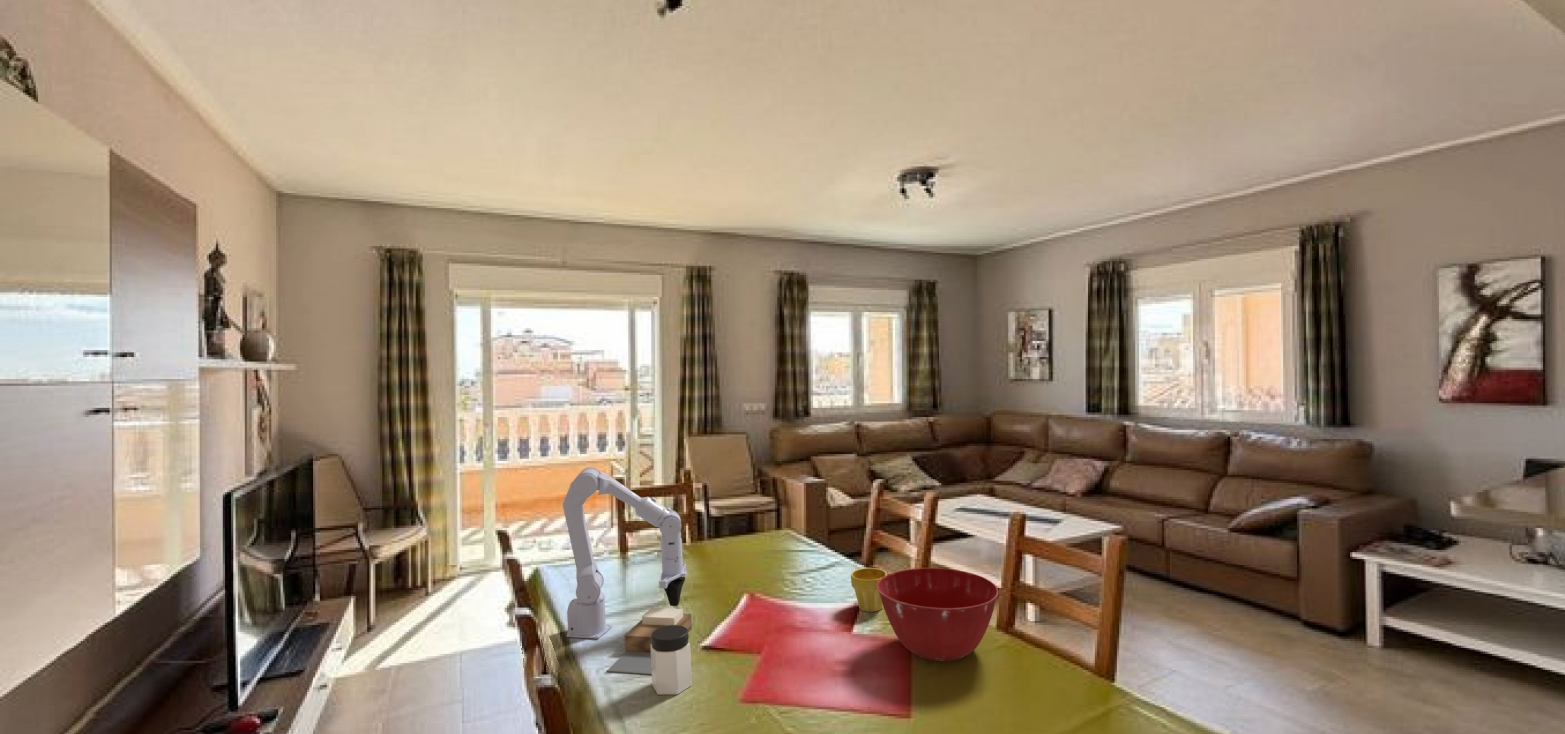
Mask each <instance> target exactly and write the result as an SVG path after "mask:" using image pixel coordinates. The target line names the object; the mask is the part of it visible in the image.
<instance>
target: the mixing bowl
mask: <svg viewBox="0 0 1565 734" xmlns="http://www.w3.org/2000/svg"><path fill="white" fill-rule="evenodd" d="M877 590H878V591H879V593H880V597H881V600H882V604H883V607H882V608H884V613H885V615H886V617H887V619H888V622H889V623H890V624H889V625H890V627H891V628H892V630H893V632H894V634H895V635H896V637H897V639H898V640H899V642H900V643H901V644H902V646H904V648H906V650H908V651H910V652H912V654H914V655H915V656H917V657H919V658H922V659H924V660H929V661H932V662H953V661H957V660H960V659H962V658H964V657H966V656H967V655H968V656H969V654H971V653H972V652H973V651H974V650H976V649H977V648H978V646H979V645H980V643H981V641H982V640H983V637H984V636H985V633H986V632H987V630H988V627H989V624H990V622H991V619H992V616H993V613H994V609H995V604H996V602H997V601H996V600H997V598H998V596H999V589H998V587H997V585H996V584H995V583H994V582H992V580H989V579H988V578H986V577H984V576H982V575H979V574H975V573H973V572H968V571H963V570H959V569H952V568H942V567H941V568H940V567H917V568H907V569H903V570H902V569H901V570H898V571H893V572H891V573H889V574H888V573H887V575H886V576H884V577H882V578H881V579H880V580H879V581H878V583H877Z"/></svg>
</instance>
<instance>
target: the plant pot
mask: <svg viewBox="0 0 1565 734" xmlns="http://www.w3.org/2000/svg"><path fill="white" fill-rule="evenodd" d="M886 575H888V573H887V571H885V570H883V569H881V568H875V567H863V568H858V569H855V570H853V571H852V572H851V573H850V583H851V587H852V588H853V589H854V593H855V596H856V601H857V604H858V607H859V609H860V610H861V611H863V612H868V613H872V612H874V613H875V612H879V611H881V610H882V609H883V608H884V607H883V604H882V600H881V597H880V593H879V591H878V590H877V583H878V581H879V580H880V579H881V578H882V577H884V576H886Z"/></svg>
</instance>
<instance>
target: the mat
mask: <svg viewBox="0 0 1565 734" xmlns="http://www.w3.org/2000/svg"><path fill="white" fill-rule="evenodd" d="M606 672H607V673H618V674H619V673H620V674H634V675H647V676H648V675H649V676H652V668H651V653H648V652H631V651H624V653H623V654H622V655H621V656H620V657H619V658H618V659H617V660H616V661H615V662H614V663H613V664H612V665H611V666H610V667H609V668H608V669H606Z"/></svg>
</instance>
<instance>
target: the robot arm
mask: <svg viewBox="0 0 1565 734" xmlns="http://www.w3.org/2000/svg"><path fill="white" fill-rule="evenodd" d="M597 491H598V492H597ZM596 492H597V495H599V496H600V495H611V496H613V497H615V498H616V499H618V500H619V501H621V502H623V503H625V504H626V505H628V506H630V507H632V508H634V510H635V515H636V516H637V517H639V518H641V519H642V520H644V521H646V522H648V524H651V526H654V527H655V528H659V532H660V533H661V541H660V547H661V548H660V549H661V571H662V572H661V576H660V579H659V581H658V586H659V587H658V588H659V589H663V590H664V592H665V594H666V597H667V600H668V604H669V606H670V607H678V606H679V605H680V600H681V593H682V590H683V586H684V583H685V581H686V576H687V575H688V571H687V567H686V565H687V564H686V563H684V562H683V561H684V560H683V559H684V558H683V557H684V555H683V540H682V532H681V531H682V528H683V527H682V526H683V525H682V519H681V516H680V515H679V513H677V511H676V510H674V509H673V510H672V508H670V507H667V508H666V507H665V506H664V505H662V504H661V503H659V502H658V501H657V498H656V497H654V496H652V497H649V496H646V497H641V496H639V495H638V494H636V493H635V492H633V491H632V490H630V489H629V488H627V486H626V485H623V484H622V483H621V482H619V481H618V480H616V478H614V477H611V475H609V474H607V473H605V472H604V471H600V470H599V469H597V468H596V467H593V466H592V467H591V466H589V467H586V468H584V469H582V470H581V471H580V472H579V473H578V475H577V476H576V477H575V478H574V479H573V481H571V483H570V485H569V488H568V491H567V493H566V495H565V498H564V499H563V502H562V509H563V512H564V513H563V514H564V517H565V522H566V527H567V530H568V531H567V532H568V536H569V540H570V541H569V542H570V544H571V549H572V554H573V559H574V563H575V568H576V569H575V570H576V576H575V577H576V578H575V579H576V583H577V585H576V590H575V596H576V598H573V599H571V600H570V601H569V604H568V606H567V611H566V617H567V618H566V619H567V634H566V638H578V639H583V638H584V639H600V638H601V637H602V636H603V635H604V634H605V633H607V631H609V630H611V628H612V627H613V624H607V623H606V621H607V620H606V619H607V618H606V603H605V602H606V600H605V595H604V593H603V592H602V587H603V585H604V584H605V583H604V581H605V580H604V576H603V574H602V573H601V571H600V570H599V568H598V564H597V562H596V561H595V557H594V553H593V548H592V544H591V539H590V535H589V530H588V526H587V520H586V516H585V512H584V503H585V502H586V501H587V499H589V498H590V497H591V496H593V495H594V494H595V493H596Z"/></svg>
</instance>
